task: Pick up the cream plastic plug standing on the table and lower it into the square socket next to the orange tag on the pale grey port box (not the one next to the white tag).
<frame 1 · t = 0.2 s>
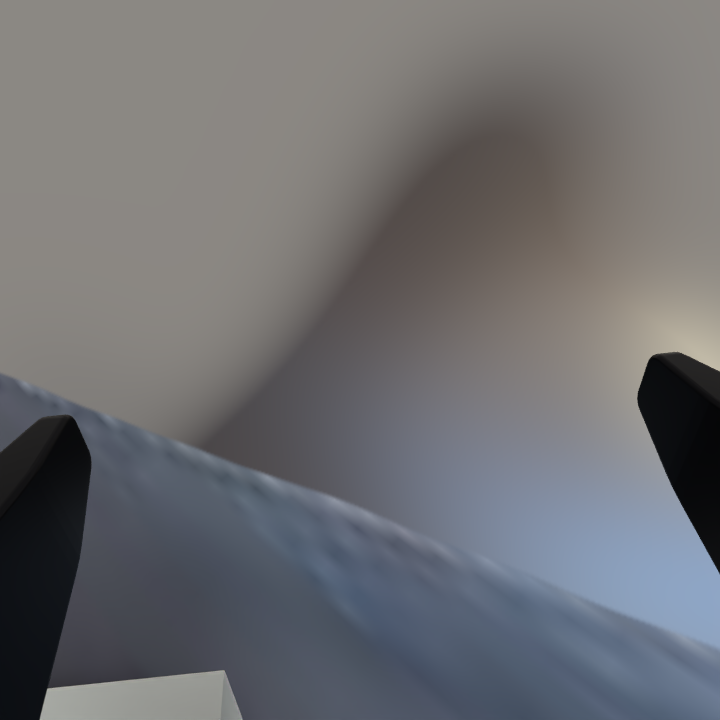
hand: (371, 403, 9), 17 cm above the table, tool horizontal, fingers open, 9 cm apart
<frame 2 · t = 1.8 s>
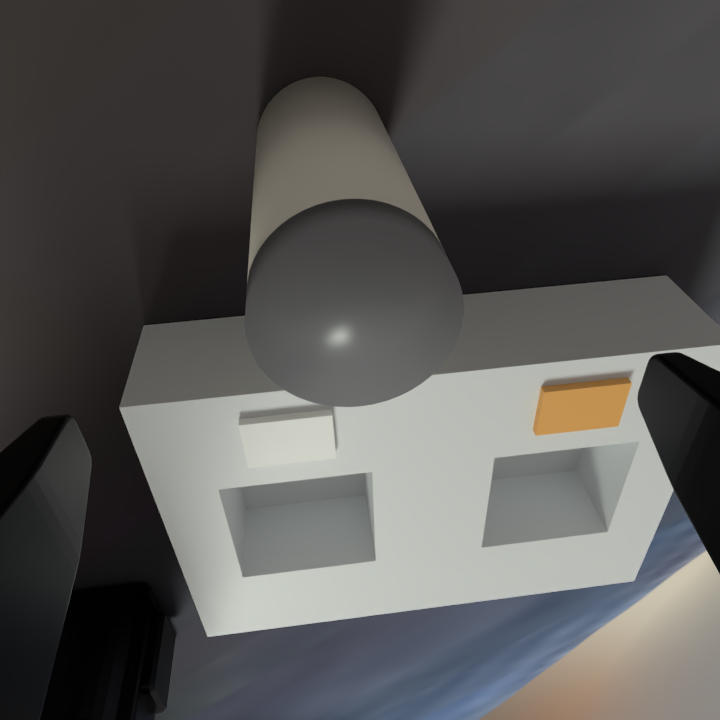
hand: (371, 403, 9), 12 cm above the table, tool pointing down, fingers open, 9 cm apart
port box: (410, 431, 27), on the table
plug: (321, 145, 19), on the table
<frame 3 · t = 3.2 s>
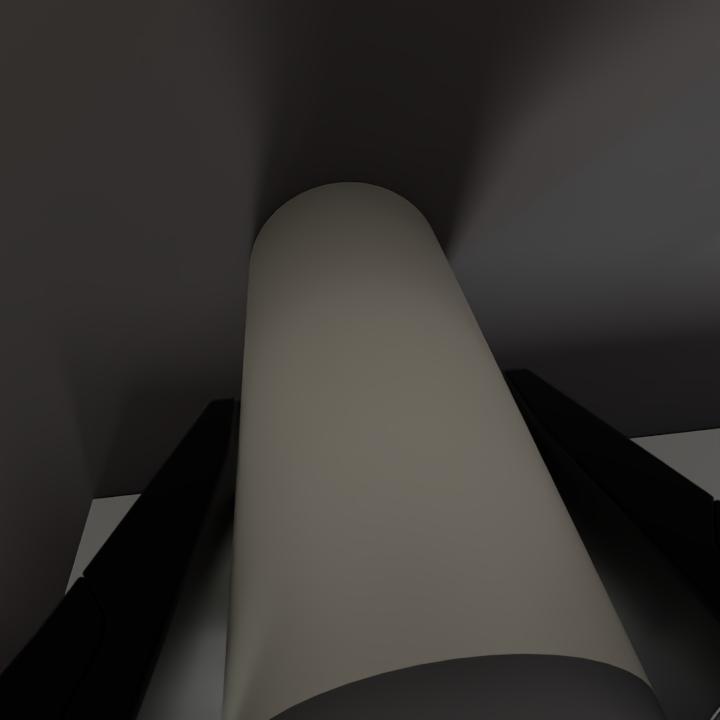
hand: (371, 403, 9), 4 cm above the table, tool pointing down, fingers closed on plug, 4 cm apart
port box: (451, 596, 21), on the table
plug: (346, 275, 13), on the table, touching gripper
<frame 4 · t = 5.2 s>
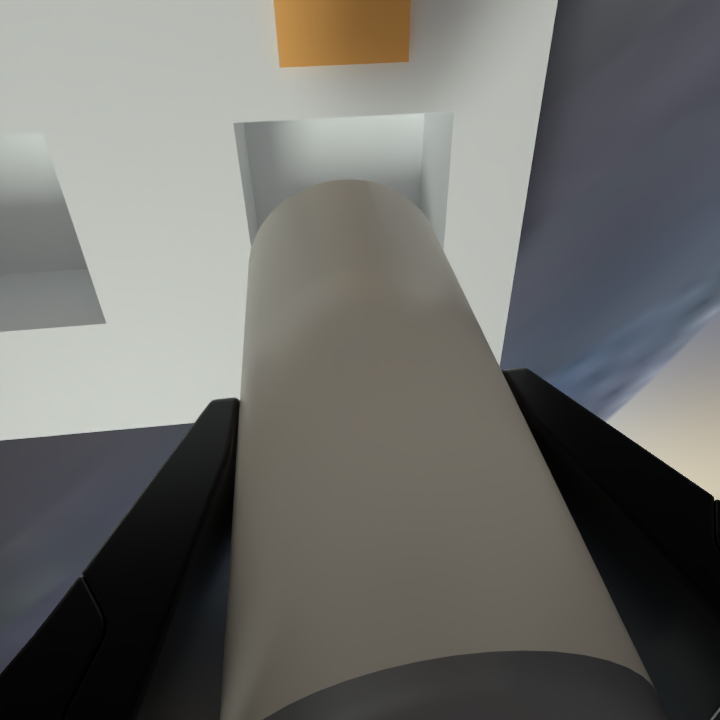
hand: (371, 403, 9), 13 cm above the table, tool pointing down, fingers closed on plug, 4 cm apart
port box: (183, 172, 20), on the table
plug: (345, 272, 13), point 9 cm above the table, touching gripper
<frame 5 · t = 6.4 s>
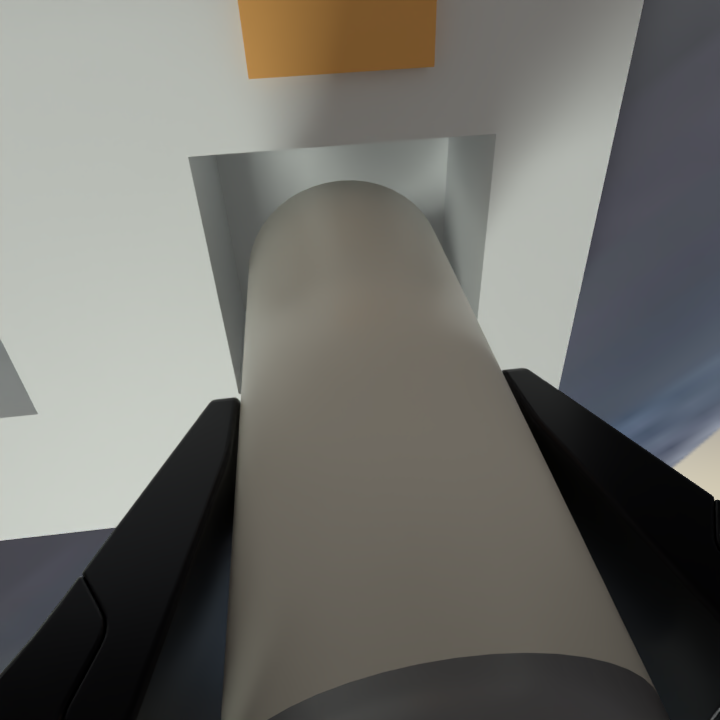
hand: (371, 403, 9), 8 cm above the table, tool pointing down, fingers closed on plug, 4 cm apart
port box: (142, 209, 16), on the table
plug: (346, 273, 13), point 4 cm above the table, touching gripper
when the fingers open (5 cm above the table, at t = 7.4 s): plug stays where it is, resting on port box.
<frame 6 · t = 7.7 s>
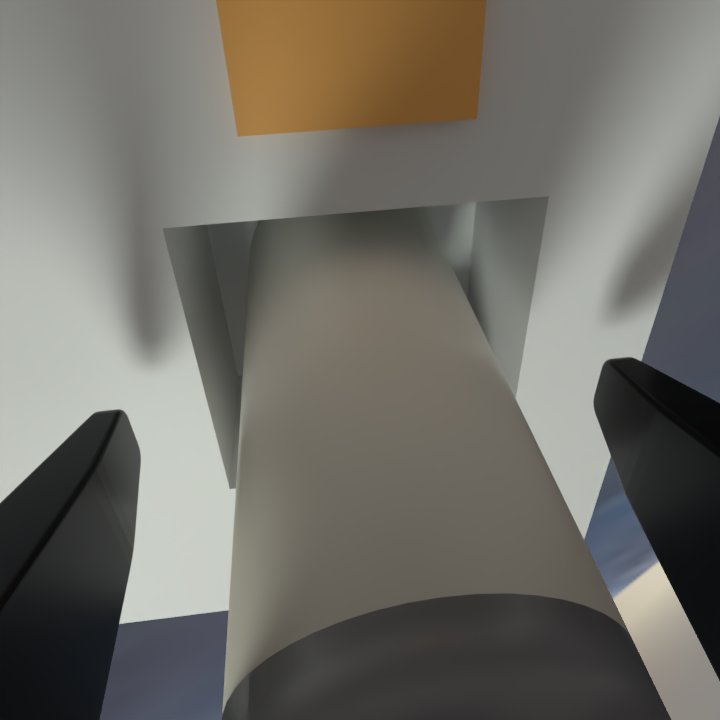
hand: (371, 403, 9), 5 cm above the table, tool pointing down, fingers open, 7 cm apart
port box: (118, 262, 13), on the table
plug: (344, 262, 13), point 1 cm above the table, touching port box
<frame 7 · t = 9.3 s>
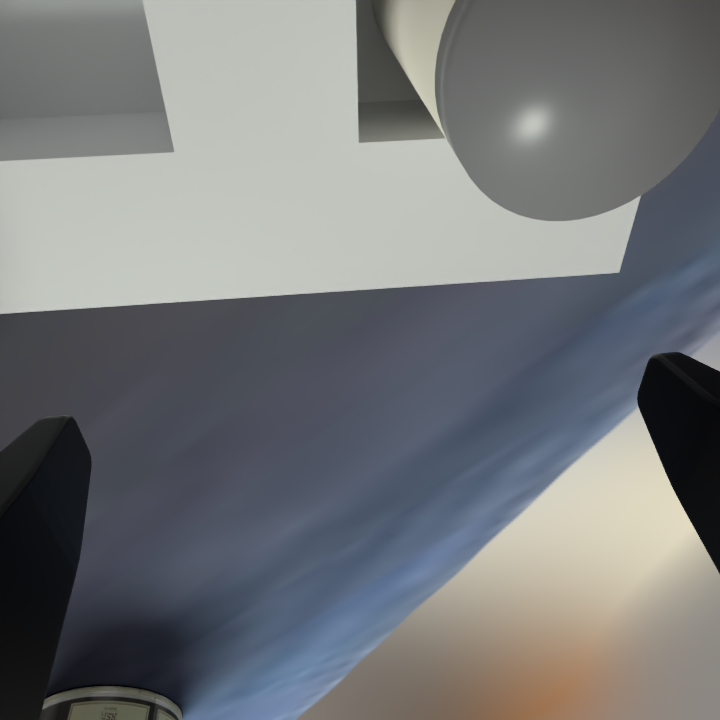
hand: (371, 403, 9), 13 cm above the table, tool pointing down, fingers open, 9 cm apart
coffee can: (110, 714, 43), on the table
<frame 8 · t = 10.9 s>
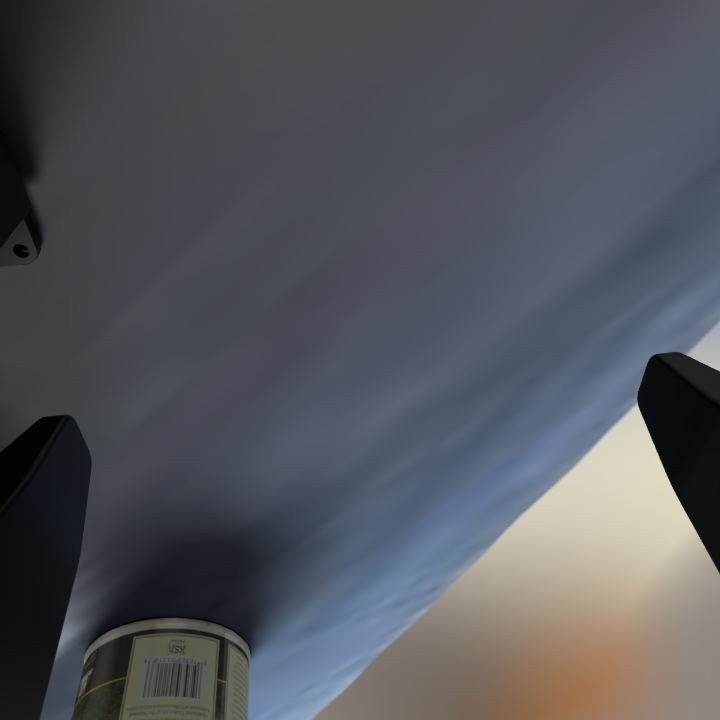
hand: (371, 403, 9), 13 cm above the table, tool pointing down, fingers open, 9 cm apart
coffee can: (171, 656, 39), on the table
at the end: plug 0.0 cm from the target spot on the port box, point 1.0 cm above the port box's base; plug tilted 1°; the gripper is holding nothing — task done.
